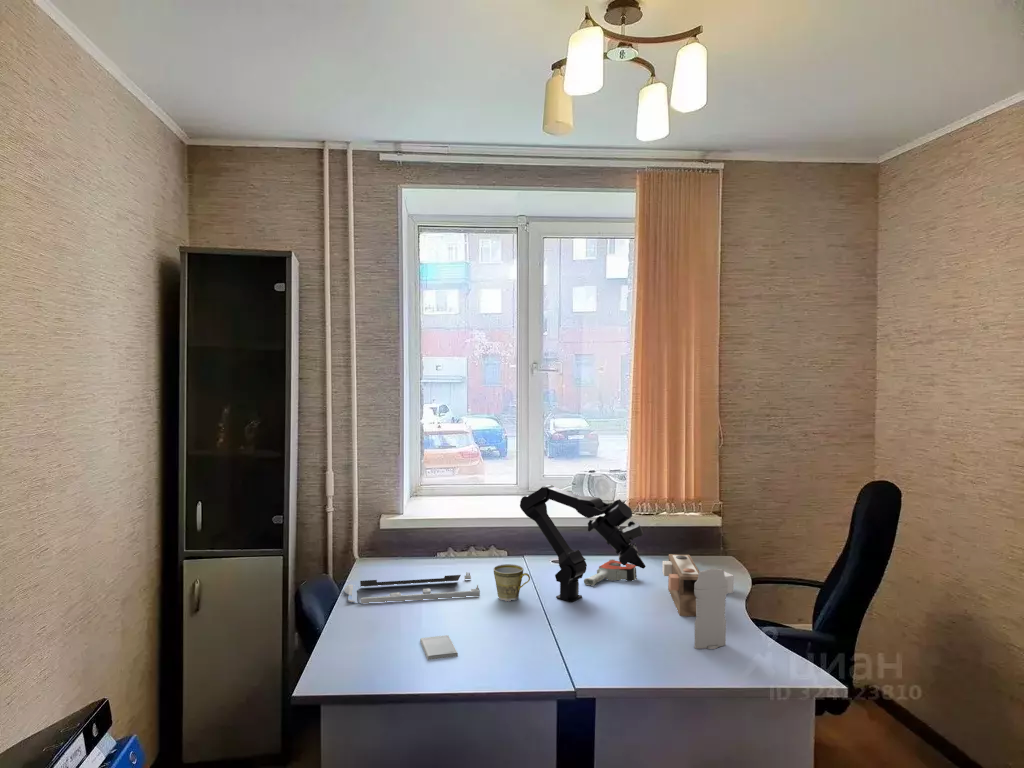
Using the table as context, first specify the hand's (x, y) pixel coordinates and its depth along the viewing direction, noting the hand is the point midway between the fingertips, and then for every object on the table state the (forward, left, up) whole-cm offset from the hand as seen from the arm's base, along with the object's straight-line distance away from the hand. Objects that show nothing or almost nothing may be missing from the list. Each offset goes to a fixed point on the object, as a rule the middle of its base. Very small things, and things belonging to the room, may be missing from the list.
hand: (644, 567), depth 220 cm
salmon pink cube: (+6, -8, -6) cm, 12 cm away
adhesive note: (+33, -12, -14) cm, 37 cm away
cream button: (+17, 0, -6) cm, 18 cm away
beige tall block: (-13, -28, -14) cm, 34 cm away
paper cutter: (-38, +69, -14) cm, 79 cm away
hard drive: (-64, +29, -14) cm, 71 cm away
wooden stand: (+14, -7, -13) cm, 21 cm away
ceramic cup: (-20, +38, -14) cm, 45 cm away
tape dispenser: (+19, +24, -14) cm, 34 cm away
